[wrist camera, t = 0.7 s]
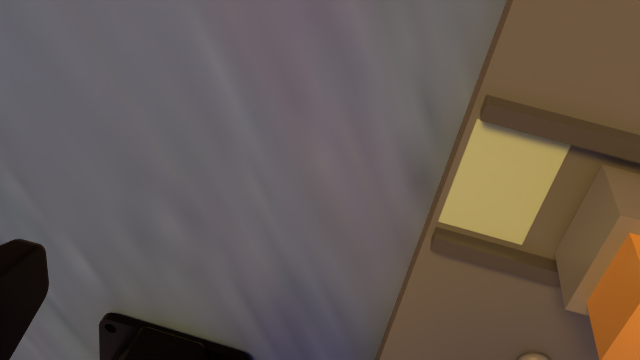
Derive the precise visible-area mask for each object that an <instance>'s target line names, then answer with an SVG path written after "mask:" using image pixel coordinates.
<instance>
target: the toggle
mask: <svg viewBox="0 0 640 360" xmlns="http://www.w3.org/2000/svg"><path fill="white" fill-rule="evenodd" d="M555 258H556V263H557V269H558V274H559V280H560V285H561V291H562V296H563V302H564V307H565V309H566V310H569V311H573V312H576V313H580V314H583V315H587V316H589V317H590V321H591V326H592V330H593V334H594V339H595V343H596V348H597V352H598V356H599V360H640V174H637V173H633V172H629V171H626V170H622V169H618V168H614V167H611V166H607V165H603V164H602V166H601V168H600V170H599V171H598V173H597V175H596V177H595V179H594V181H593V183H592V184H591V186H590V188H589V190H588V192H587V194H586V196H585V197H584V199H583V201H582V203H581V205H580V207H579V209H578V211H577V212H576V214H575V216H574V218H573V220H572V222H571V224H570V225H569V227H568V229H567V231H566V233H565V235H564V237H563V238H562V240H561V242H560V244H559V246H558V248H557V250H556V251H555Z"/></svg>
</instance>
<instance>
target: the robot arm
mask: <svg viewBox="0 0 640 360" xmlns="http://www.w3.org/2000/svg"><path fill="white" fill-rule="evenodd" d="M48 287H49V279H48V269H47V258H46V251H45V248H44V247H43V246H42V245H41V244H38V243H34V242H30V241H27V240H23V239H15V240H12V241H9V242H7V243H5V244H2V245H0V360H9V359H10V358H11V356H12V354H13V352H14V351H15V349H16V347H17V346H18V344H19V342H20V340H21V339H22V337H23V335H24V334H25V332H26V330H27V328H28V327H29V325H30V323H31V321H32V320H33V318H34V316H35V315H36V313H37V311H38V309H39V308H40V306H41V304H42V303H43V301H44V299H45V297H46V295H47V292H48ZM99 344H100V360H251V358H250V357H249V356H248V355H247V354H246V353H244V352H242V351H238V350H235V349H232V348H228V347H225V346H222V345H218V344H215V343H212V342H208V341H205V340H202V339H199V338H195V337H192V336H189V335H185V334H182V333H179V332H175V331H172V330H169V329H165V328H162V327H159V326H155V325H152V324H149V323H145V322H142V321H139V320H136V319H132V318H129V317H126V316H122V315H119V314H116V313H107V314H106V315H105V316H104V317H103V319H102V320H101V321H100V324H99Z"/></svg>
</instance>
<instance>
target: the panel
mask: <svg viewBox="0 0 640 360" xmlns="http://www.w3.org/2000/svg"><path fill="white" fill-rule="evenodd" d="M602 164H603V165H607V166H611V167H614V168H618V169H622V170H626V171H629V172H633V173H637V174H640V0H507V2H506V5H505V7H504V10H503V13H502V16H501V18H500V21H499V24H498V26H497V29H496V32H495V35H494V37H493V40H492V43H491V46H490V48H489V51H488V54H487V56H486V59H485V62H484V65H483V67H482V70H481V73H480V76H479V78H478V81H477V84H476V86H475V89H474V92H473V95H472V97H471V100H470V103H469V106H468V108H467V111H466V114H465V116H464V119H463V122H462V125H461V127H460V130H459V133H458V135H457V138H456V141H455V144H454V146H453V149H452V152H451V155H450V157H449V160H448V163H447V165H446V168H445V171H444V174H443V176H442V179H441V182H440V185H439V187H438V190H437V193H436V195H435V198H434V201H433V204H432V206H431V209H430V212H429V214H428V217H427V220H426V223H425V225H424V228H423V231H422V234H421V236H420V239H419V242H418V244H417V247H416V250H415V253H414V255H413V258H412V261H411V264H410V266H409V269H408V272H407V274H406V277H405V280H404V283H403V285H402V288H401V291H400V294H399V296H398V299H397V302H396V304H395V307H394V310H393V313H392V315H391V318H390V321H389V323H388V326H387V329H386V332H385V334H384V337H383V340H382V343H381V345H380V348H379V351H378V353H377V356H376V359H375V360H599V356H598V352H597V348H596V343H595V339H594V334H593V330H592V326H591V321H590V317H589V316H587V315H583V314H580V313H576V312H573V311H569V310H566V309H565V307H564V302H563V296H562V291H561V285H560V280H559V274H558V269H557V263H556V258H555V251H556V250H557V248H558V246H559V244H560V242H561V240H562V238H563V237H564V235H565V233H566V231H567V229H568V227H569V225H570V224H571V222H572V220H573V218H574V216H575V214H576V212H577V211H578V209H579V207H580V205H581V203H582V201H583V199H584V197H585V196H586V194H587V192H588V190H589V188H590V186H591V184H592V183H593V181H594V179H595V177H596V175H597V173H598V171H599V170H600V168H601V166H602Z"/></svg>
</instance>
